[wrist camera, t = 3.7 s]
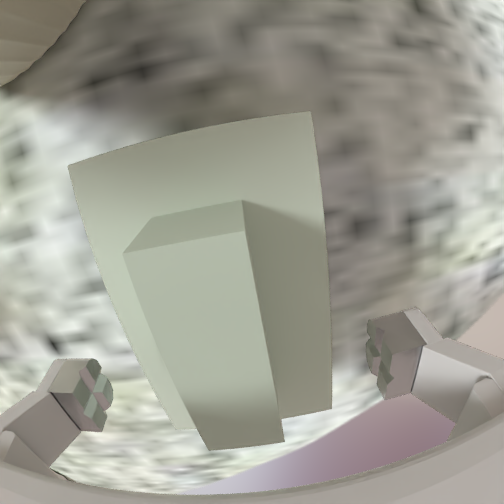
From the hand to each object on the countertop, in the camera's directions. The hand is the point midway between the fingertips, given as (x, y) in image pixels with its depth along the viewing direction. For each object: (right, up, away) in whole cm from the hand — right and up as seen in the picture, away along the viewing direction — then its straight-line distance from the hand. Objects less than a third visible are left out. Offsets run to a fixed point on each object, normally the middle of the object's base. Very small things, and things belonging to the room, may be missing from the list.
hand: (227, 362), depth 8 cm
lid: (0, +1, +3) cm, 3 cm away
